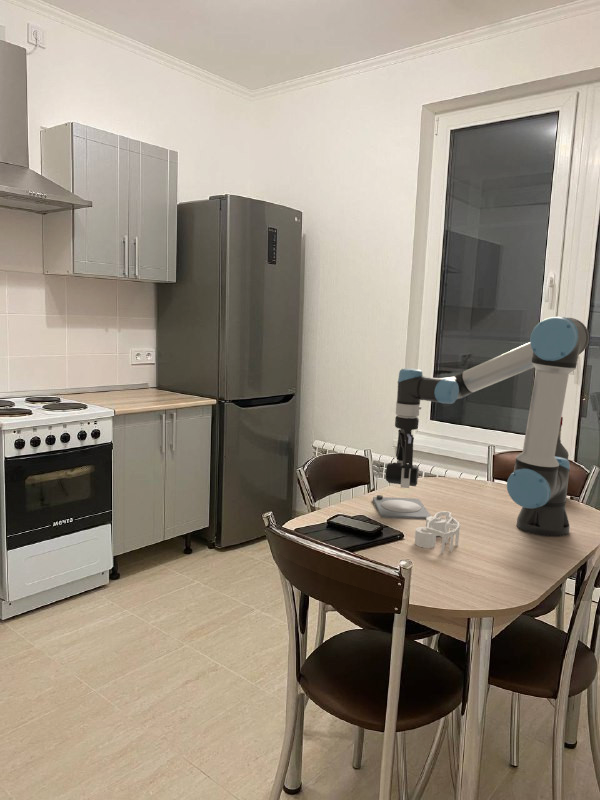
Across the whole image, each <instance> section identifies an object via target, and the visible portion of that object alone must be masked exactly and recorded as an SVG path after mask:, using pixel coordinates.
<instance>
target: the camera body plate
mask: <svg viewBox="0 0 600 800" xmlns="http://www.w3.org/2000/svg"><path fill="white" fill-rule="evenodd" d="M372 502H373V504H374V506H375V508H376V510H377V512H378V514H379V516H380V518H382V519H408V520H409V519H411V520H413V519H414V520H426V518H427V517H431V516H432V515H431V514H430V513H429V511H428V509H427V508H426V507H425V506H424V504H423V502H422V500H420V499H419V498H411V497H388V496H387V497H385V496H383V495H381V494H377V495H376V496H372Z"/></svg>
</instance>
